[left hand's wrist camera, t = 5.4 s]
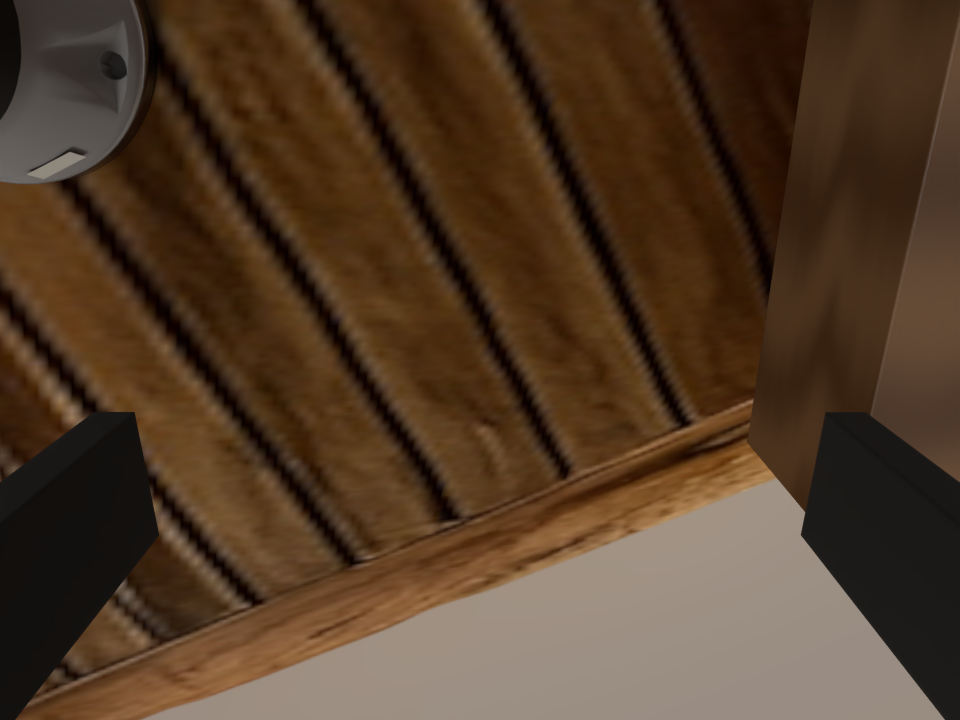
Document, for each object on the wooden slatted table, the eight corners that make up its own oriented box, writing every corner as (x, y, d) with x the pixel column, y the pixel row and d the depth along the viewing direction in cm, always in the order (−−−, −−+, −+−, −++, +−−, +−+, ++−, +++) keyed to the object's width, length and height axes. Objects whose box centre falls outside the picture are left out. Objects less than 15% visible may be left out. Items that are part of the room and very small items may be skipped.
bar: (853, 440, 34) (982, 551, 25) (746, 442, 34) (839, 554, 25) (994, -211, 24) (1280, -388, 15) (844, -210, 24) (1049, -387, 15)
